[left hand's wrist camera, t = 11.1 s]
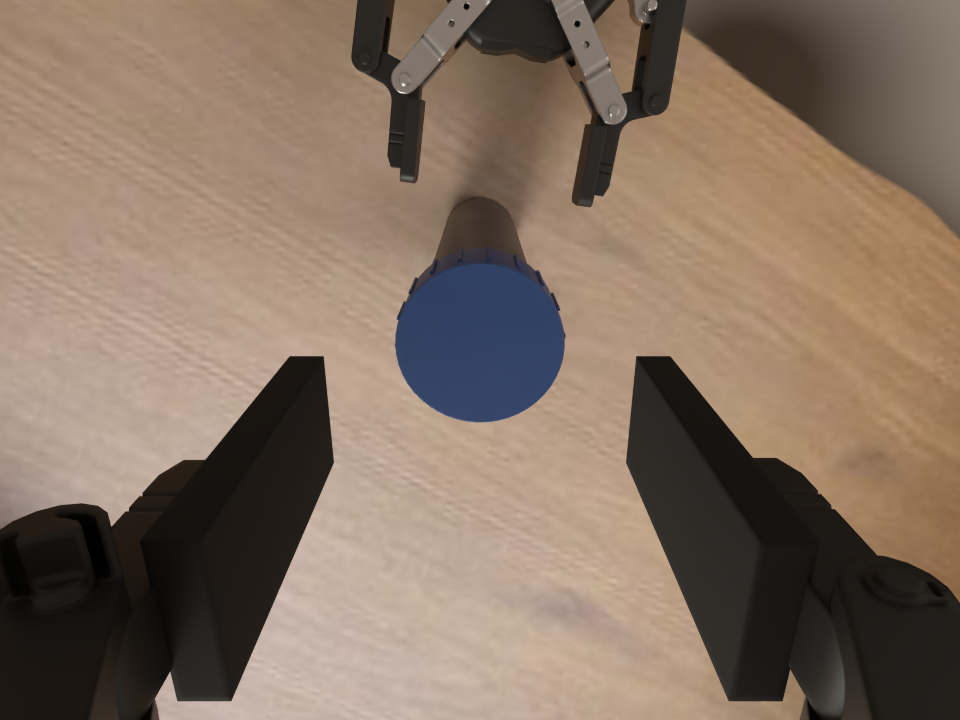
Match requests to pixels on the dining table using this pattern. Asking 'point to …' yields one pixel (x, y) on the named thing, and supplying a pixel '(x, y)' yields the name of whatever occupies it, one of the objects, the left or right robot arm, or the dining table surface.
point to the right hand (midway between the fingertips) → (495, 193)
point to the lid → (479, 335)
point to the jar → (480, 229)
